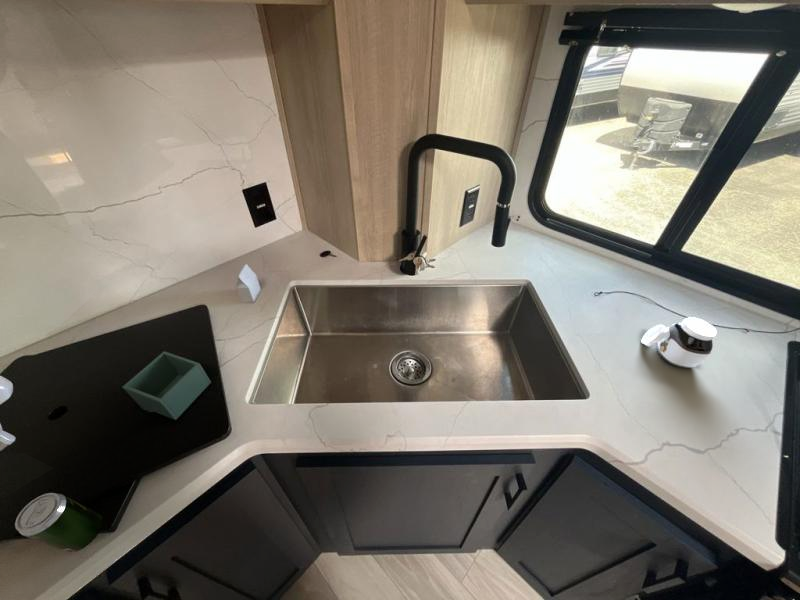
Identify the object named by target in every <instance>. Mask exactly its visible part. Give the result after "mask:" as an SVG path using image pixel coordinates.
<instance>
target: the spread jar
mask: <svg viewBox="0 0 800 600" xmlns="http://www.w3.org/2000/svg"><path fill="white" fill-rule="evenodd" d="M716 336H718V331H717V329H716V327H714V325H712V324H710V323H709V322H708V321H706V320H704V319H701V318H698V317H691V316H690V317H686V318H684V319H683V320H682V321H681V322H675V323H673V324H670V325H669V326H668V327H666V326H665V325H663V324H657V325H655V326H652V327H651V328H650V329H648V330H647V331H646V332H645V333H644V335H643V336H642V338H641V344H643V345H644V346H646V347H653V346H655V345H657V353H658V354H660V355H659V356H660V357H661V358H662V360H664V362H666V361H667V362H666V363H668V364H670V365H672V366H675V367H679V368H684V369H685V368H696V367H698V366H699V365H700V364H702V363H703V362H704V361H705V360H706V359H707V358H708V357H709V355H710V354H711V353H712V351H713V347H714V343H713V340H714V338H716Z"/></svg>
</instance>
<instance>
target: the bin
mask: <svg viewBox="0 0 800 600" xmlns="http://www.w3.org/2000/svg"><path fill="white" fill-rule="evenodd" d="M211 383H212V381H211V380H210V378H209V376H208V374H207V373H206V371H205V370H204V368H203V367H202V365H201V363H200V362H197V361H194V360H192V359H189V358H185V357H182V356H179V355H177V354H173V353H171V352H169V351H165V350H164V351H163V352H161V353H160V354H159V355H158V356H156V357H155V358H154V359H153V360H152V361H151V362H150V363H148V364H147V365H146V366H144V368H143V369H142V370H140V371H139V372H138V373H137V374H135V375H134V376H133V377H132V378H131V379H130V380H128V381H127V382H126V383H125V384H124V385H122V387H121V388H122V389H123V390H124V391H125V392H126V393H127V394H128V395H129V396H130V397H131V398H132V399H133V401H135V403H136V404H137V405H138V406H139V407H140V408H141V409H142V410H144V411H146V410H147V411H146V412H149V413H151V412H152V413H153V412H154V413H156V414H159V415H162V416H164V417H166V418H169V419H171V420H174V421H177V420H178V419H179V417H180V416H181V415H182V414H183V413H184V412H185V411H186V410H187V409H188V408H189V407H190V406H191V405H192V403H194V401H195V400H196V399H197V398H198V397H199V396H200V395H201V394H202V393H203V392H204V391H205V389H207V388H208V386H209V385H210V384H211Z"/></svg>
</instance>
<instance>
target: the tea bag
mask: <svg viewBox="0 0 800 600" xmlns="http://www.w3.org/2000/svg"><path fill="white" fill-rule="evenodd" d="M235 288H236V291H237V293H238V296H239V299H240V302H241V303H242V304H243V303H244V304H245V303H246V304H248V303H249V304H251V303H252V304H253V303H256V300H257V298H258V296H259V294H260V292H261V290H262V288H261V286H260V282H259V279H258V276H257V274H256V273H255V272H254V271H253V270H252V268H250V266H249V265H248V263H245V264H244V265H243V267H242V268H241V270H240V272H239V273H238V275H237V281H236V286H235Z"/></svg>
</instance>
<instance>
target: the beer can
mask: <svg viewBox="0 0 800 600" xmlns="http://www.w3.org/2000/svg"><path fill="white" fill-rule="evenodd" d="M103 525H104V519H103V515H101V514H99V513H98V512H96V511H93V510H92V509H91V508H89V507H86V506H84V505H83V504H82V503H79V502H77V501H75V499H74V500H73V499H72V498H70V497H68V496H66V495H64V494H62V493H55V492H48V493H43V494H41V495H40V496H37V497H36V498H34V499H32V500H31V501H29V502H28V503H27V504H26V505H25V506H24V507H23V508H22V509H21V511H20V512H19V513H18V515H17V517H16V519H15V523H14V527H15V530H16V531H18V533H19V534H21V536H24V537H26V538H28V539H32V540H34V541H37V542H40V543H42V544H45V545H48V546H51V547H54V548H56V549H58V550H61V551H64V552H66V553H67V552H68V553H74V552H78V551H80V550H83V549H84V548H86V547H87V546H89V545H90V544H91V543H92V542H93V541H94V540H95V539H96V538H97V537H98V535H99V534H100V532H101V530H102V528H103Z"/></svg>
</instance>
